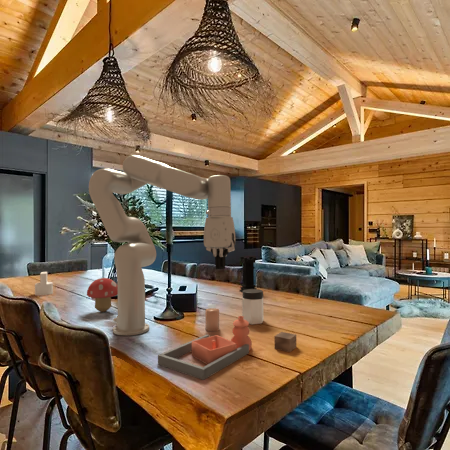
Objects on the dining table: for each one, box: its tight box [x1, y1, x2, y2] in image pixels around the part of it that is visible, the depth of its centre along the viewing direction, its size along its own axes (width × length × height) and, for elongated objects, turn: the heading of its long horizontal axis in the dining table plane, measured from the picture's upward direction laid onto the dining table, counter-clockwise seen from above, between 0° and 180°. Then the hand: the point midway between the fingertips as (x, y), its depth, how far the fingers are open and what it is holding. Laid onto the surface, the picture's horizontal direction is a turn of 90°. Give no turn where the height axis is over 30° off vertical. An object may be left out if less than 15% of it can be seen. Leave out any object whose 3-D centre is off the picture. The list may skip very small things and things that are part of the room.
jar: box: [241, 288, 264, 325], centre depth 130 cm, size 9×8×12 cm
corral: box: [157, 334, 250, 381], centre depth 93 cm, size 16×21×2 cm
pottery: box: [191, 315, 253, 365], centre depth 97 cm, size 18×10×10 cm, turn 127°
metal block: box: [274, 331, 297, 353], centre depth 101 cm, size 5×5×4 cm
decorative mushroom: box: [86, 277, 118, 313], centre depth 146 cm, size 13×13×15 cm
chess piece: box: [239, 255, 257, 294], centre depth 190 cm, size 8×8×20 cm
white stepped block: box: [34, 271, 54, 296], centre depth 187 cm, size 9×9×12 cm
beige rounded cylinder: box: [204, 307, 220, 332], centre depth 120 cm, size 5×5×7 cm
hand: (220, 268), depth 109 cm, fingers closed
